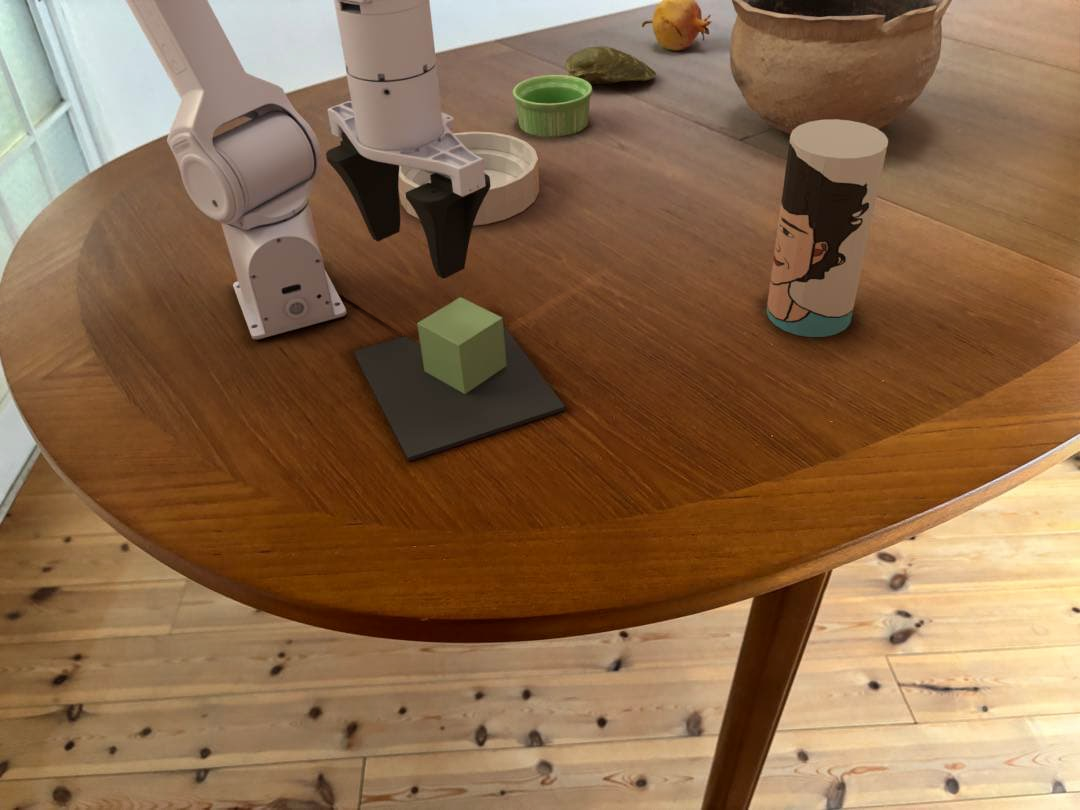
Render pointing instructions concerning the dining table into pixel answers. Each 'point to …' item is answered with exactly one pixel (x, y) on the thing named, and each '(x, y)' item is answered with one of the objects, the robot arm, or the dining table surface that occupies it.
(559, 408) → the mat
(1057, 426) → the dining table surface
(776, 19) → the ceramic bowl
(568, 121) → the ramekin
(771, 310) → the cup
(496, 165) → the basin
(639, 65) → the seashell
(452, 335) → the green block
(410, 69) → the robot arm
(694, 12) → the fruit
